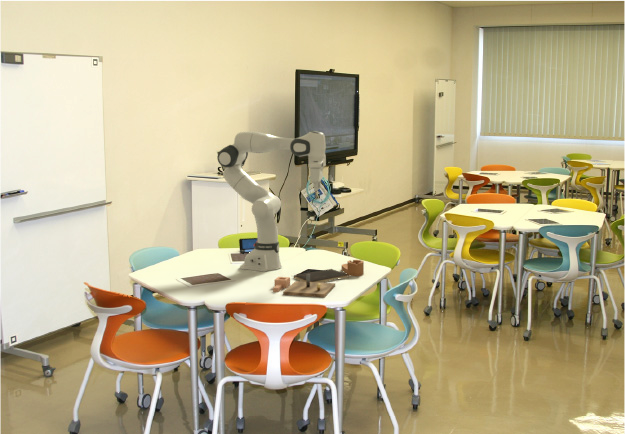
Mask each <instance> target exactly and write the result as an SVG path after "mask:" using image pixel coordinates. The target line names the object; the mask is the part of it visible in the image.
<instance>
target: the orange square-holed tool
mask: <svg viewBox="0 0 625 434" xmlns="http://www.w3.org/2000/svg"><path fill="white" fill-rule="evenodd" d="M273 281H274V287H272V289H273V292H274V293H279V292H281V290H283V289H287V288H288V287H289V286H291V277H290V276H278V277H276V278H275V279H274V280H273Z"/></svg>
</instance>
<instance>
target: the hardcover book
mask: <svg viewBox="0 0 625 434" xmlns="http://www.w3.org/2000/svg"><path fill="white" fill-rule="evenodd" d="M306 274H310V282H321V283H328V282H330V281H329V280H333V279H338V278H344V279H348V277H349V275H348V274H346V273H345V272H343V271H339V270H336V269H333V268H330V269H322V270H317V271H312V272H311V271H310V272H305V273H300V274H294V275H293V279H295V280H296V281H304V282H306ZM327 281H328V282H327ZM333 281H334V280H333Z"/></svg>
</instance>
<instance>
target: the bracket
mask: <svg viewBox="0 0 625 434" xmlns="http://www.w3.org/2000/svg"><path fill="white" fill-rule="evenodd" d="M364 268H365V266H364V260H362V259H352V260H351V259H350V260H348V261H347V263H343V264H341V272H343V271H344V272H343V273H345V274H346V273H347V274H348V276H349V275H351V277H361V276H364V274H365V271H364Z"/></svg>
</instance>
